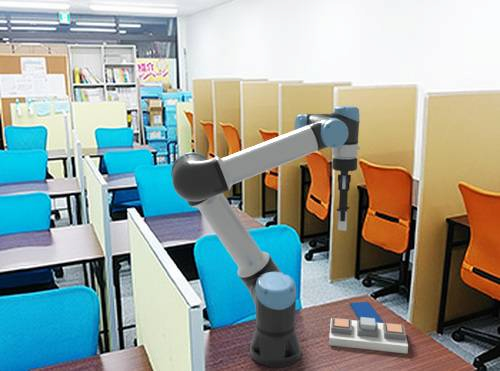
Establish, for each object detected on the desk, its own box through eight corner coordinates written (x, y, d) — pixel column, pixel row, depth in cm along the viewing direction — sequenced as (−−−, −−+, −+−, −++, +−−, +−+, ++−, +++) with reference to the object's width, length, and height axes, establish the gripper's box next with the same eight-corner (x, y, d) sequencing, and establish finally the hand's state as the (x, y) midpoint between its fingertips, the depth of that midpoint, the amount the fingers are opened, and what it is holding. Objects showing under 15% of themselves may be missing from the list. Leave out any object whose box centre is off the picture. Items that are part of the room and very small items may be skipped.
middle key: (360, 330, 144) (360, 324, 143) (360, 322, 148) (360, 317, 147) (375, 331, 143) (375, 325, 142) (374, 324, 147) (374, 318, 146)
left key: (334, 331, 146) (334, 325, 145) (334, 323, 150) (334, 318, 149) (348, 332, 145) (348, 326, 144) (348, 325, 149) (348, 319, 148)
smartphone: (368, 301, 169) (384, 322, 154) (368, 304, 169) (383, 324, 154) (348, 302, 168) (362, 323, 154) (348, 305, 168) (362, 326, 154)
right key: (387, 336, 142) (387, 330, 142) (386, 329, 146) (386, 323, 146) (402, 338, 141) (402, 332, 141) (400, 330, 146) (401, 324, 145)
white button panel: (328, 345, 143) (329, 332, 142) (330, 324, 154) (331, 313, 153) (407, 353, 138) (408, 340, 137) (403, 332, 149) (404, 320, 148)
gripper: (357, 161, 136) (354, 237, 142) (357, 153, 149) (354, 224, 154) (331, 160, 138) (329, 235, 143) (333, 153, 150) (331, 222, 156)
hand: (342, 229), depth 149 cm, fingers closed
